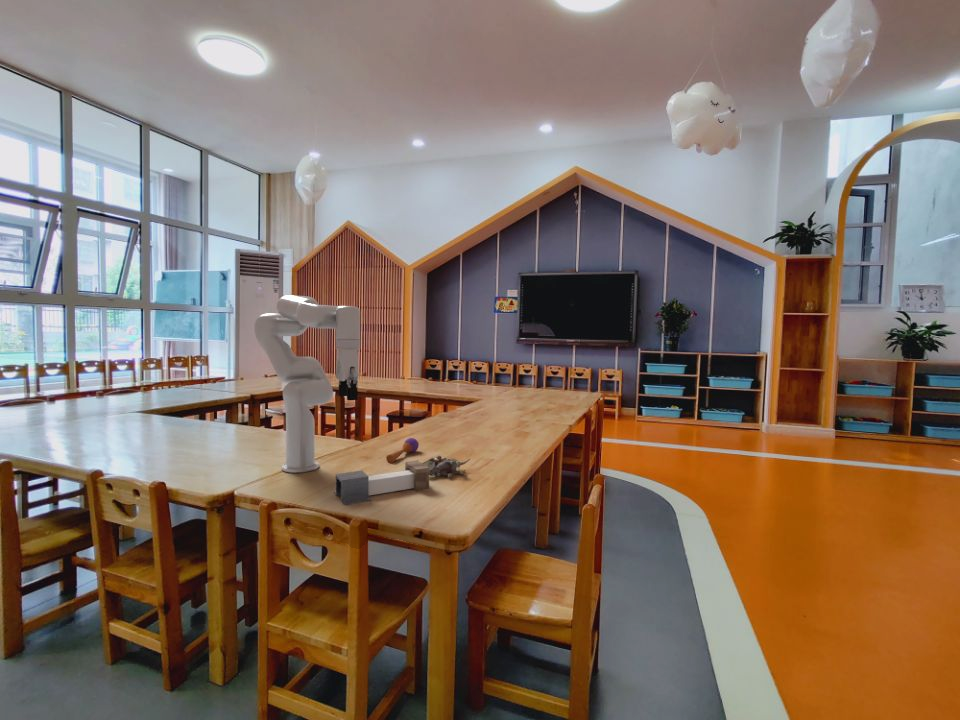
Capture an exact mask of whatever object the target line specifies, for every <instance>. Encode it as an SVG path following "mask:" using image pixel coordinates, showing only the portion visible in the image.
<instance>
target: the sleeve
mask: <svg viewBox="0 0 960 720" xmlns="http://www.w3.org/2000/svg"><path fill="white" fill-rule="evenodd" d="M369 476H370V475H368V474H366V472H364V471H363V470H355V471H348V472H341V473H335V491H333V494H334V495H335V496H336V497H339V496H340V502H341V504H342V505H343V506H347V505H353V504H360V503H364V502H365V503H366V502H371V501H372V498H370V496H368V477H369Z"/></svg>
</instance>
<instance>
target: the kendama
mask: <svg viewBox="0 0 960 720" xmlns="http://www.w3.org/2000/svg"><path fill="white" fill-rule="evenodd" d="M418 441H419V440H417V439H416V438H413V437H409V438H408V439H406V440H405V441H404V443H403V445H402V449H400V450H398V451H395V452H392V453H390V454H388V455H386V457H385V458H386V462H387V463H390V464H393V463H394V462H395V461H396V460H397V459H398V458H399V457H400V456H401V455H402V454H403V453H406V454H407V453H408V454H409V453H410V454H411V453H415V452H417V450H418V449H419V442H418Z"/></svg>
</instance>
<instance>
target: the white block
mask: <svg viewBox="0 0 960 720" xmlns="http://www.w3.org/2000/svg"><path fill="white" fill-rule="evenodd" d="M368 476H369V477H368V497H370V496H372V495H373V496H375V495H380V494H386V493H392V492H398V491H405V490H410V489H414V472H413V471H412V470H406V471H405V470H401V471H395V472H393V471H392V472H385V473H381V474H373V475H368Z"/></svg>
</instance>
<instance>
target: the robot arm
mask: <svg viewBox="0 0 960 720" xmlns="http://www.w3.org/2000/svg"><path fill="white" fill-rule="evenodd" d="M276 311H277V312H278V313H274V312H273V313H264V314H261V315H259V316H258V317H257V318H255V322H254V327H253V329H254V334H255V338H256V341H257V342H258V344H259V346H260V347H261V349H262V350H263V351H264V353H265V354H266V355H267V357H268V359H269V362H270V364H271V365H272V367H273V370H274V371H275V374H276V376H277V377H278V379H279V381H280V382H282V383H285V386H283V389H282V399H283V404H284V409H285V432H286V433H285V439H286V440H285V441H286V443H285V444H286V445H285V447H286V448H285V449H286V452H285V453H286V454H285V455H286V457H285V458H286V459H285V460H286V461H285V463H283V464H282V465H281V470H282V471H283V472H285V473H291V474H292V473H294V474H295V473H296V474H298V473H306V472H312V471H314V470H317V469H318V468H319V467H320V462H318V461H317V460H315V459H316V458H315V456H316V455H315V453H316V452H315V449H316V447H315V438H316V437H315V417H314V414H313V413H312V411H311V410H310V409H309V407H313V406H321V405H325V404H327V403H330V402H331V400H333V399H332V398H333V396H334V389H333V386H332V383H331V382H330V380H329V377H328V376H327V374H326V371H325V370H324V368H323V366H322V364H321V363H320V361H319V360H318V359H316V358H315V357H314V356H299V355H296V354H295V352H293V350H292V347H291V346H290V344H289V343H288V342H286V341H285V340H284V339H282V338H281V337H298V336H301V335H303V333H305V331H306V330H307V329H308V328H312V329H331V330H333V329H334V330H335V350H337V351H336V353H337V354H336V367H335V378H336V379H337V380H338V396H339V397H346V401H357V400H358V398H359V397H358V393H359V392H358V388H359V387H358V385H359V384H358V379H359V371H360V370H359V369H360V368H359V350H361V310H360V308H359V307H358V306H353V305H328V304H319V303H318V301H317V300H316V299H315V298H314V297H312V296H307V295H305V296H304V295H293V294H290V295H289V294H288V295H283V296H281V297H280V298H279V299H278V301H277V302H276Z"/></svg>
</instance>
